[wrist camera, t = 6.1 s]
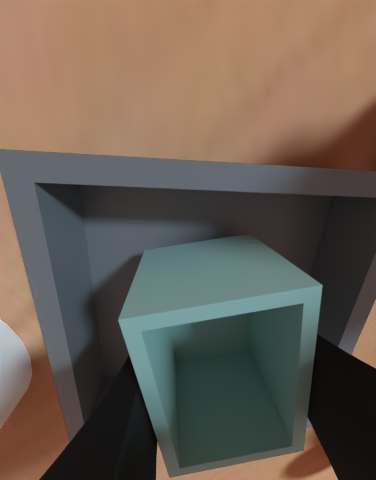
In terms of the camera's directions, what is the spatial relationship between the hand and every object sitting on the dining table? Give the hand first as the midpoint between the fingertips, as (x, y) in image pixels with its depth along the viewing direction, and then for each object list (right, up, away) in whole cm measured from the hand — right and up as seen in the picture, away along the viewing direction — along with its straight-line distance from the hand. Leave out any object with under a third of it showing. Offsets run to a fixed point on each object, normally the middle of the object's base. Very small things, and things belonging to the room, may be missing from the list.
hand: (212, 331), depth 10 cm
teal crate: (0, +1, +1) cm, 2 cm away
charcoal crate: (0, +1, +3) cm, 4 cm away
